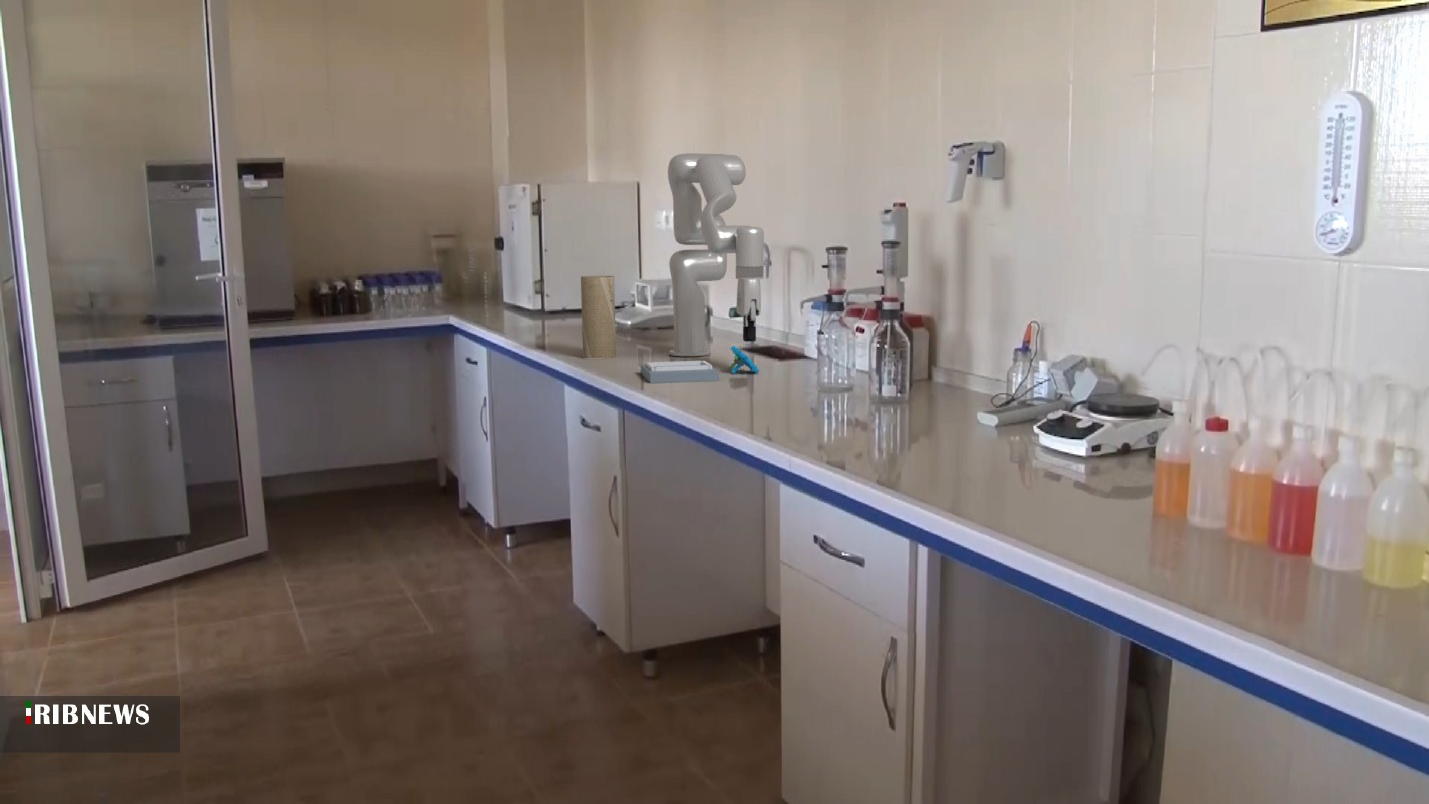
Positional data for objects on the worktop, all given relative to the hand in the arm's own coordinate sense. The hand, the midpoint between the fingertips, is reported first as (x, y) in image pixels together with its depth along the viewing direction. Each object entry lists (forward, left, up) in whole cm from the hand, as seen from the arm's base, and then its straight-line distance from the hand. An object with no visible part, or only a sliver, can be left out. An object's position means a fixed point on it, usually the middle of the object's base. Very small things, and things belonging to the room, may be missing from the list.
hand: (749, 340), depth 312 cm
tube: (-45, -37, -9) cm, 59 cm away
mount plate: (+2, -20, -9) cm, 22 cm away
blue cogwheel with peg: (0, +1, -10) cm, 10 cm away
